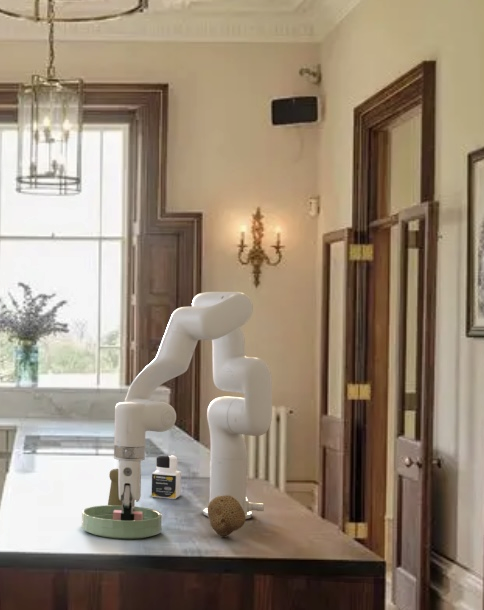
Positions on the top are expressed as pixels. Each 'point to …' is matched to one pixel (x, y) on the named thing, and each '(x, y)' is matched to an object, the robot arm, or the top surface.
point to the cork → (114, 488)
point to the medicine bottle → (166, 478)
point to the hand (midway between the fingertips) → (127, 527)
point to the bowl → (120, 523)
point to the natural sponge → (225, 515)
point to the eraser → (137, 514)
